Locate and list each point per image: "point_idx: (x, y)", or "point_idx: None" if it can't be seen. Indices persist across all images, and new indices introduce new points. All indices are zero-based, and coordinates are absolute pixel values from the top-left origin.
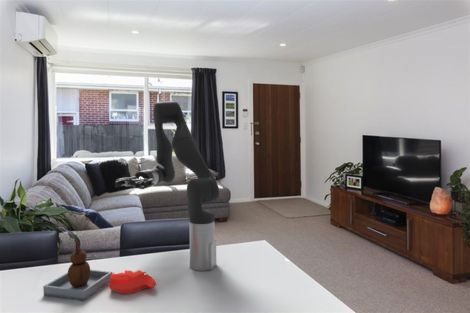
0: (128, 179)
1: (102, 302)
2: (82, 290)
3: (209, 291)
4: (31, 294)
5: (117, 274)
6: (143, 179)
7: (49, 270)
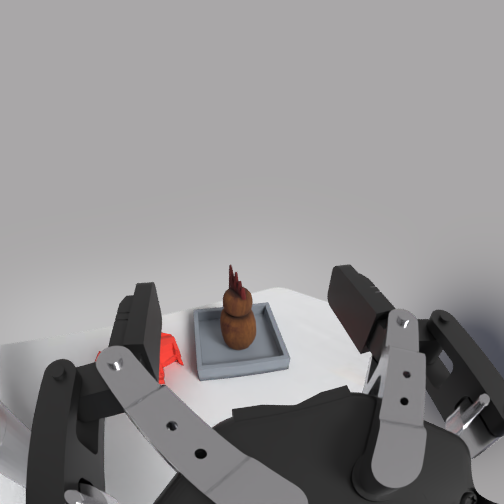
0: (482, 449)
1: (166, 325)
2: (198, 311)
3: (26, 376)
4: (287, 310)
5: (162, 341)
6: (174, 486)
7: (359, 361)
